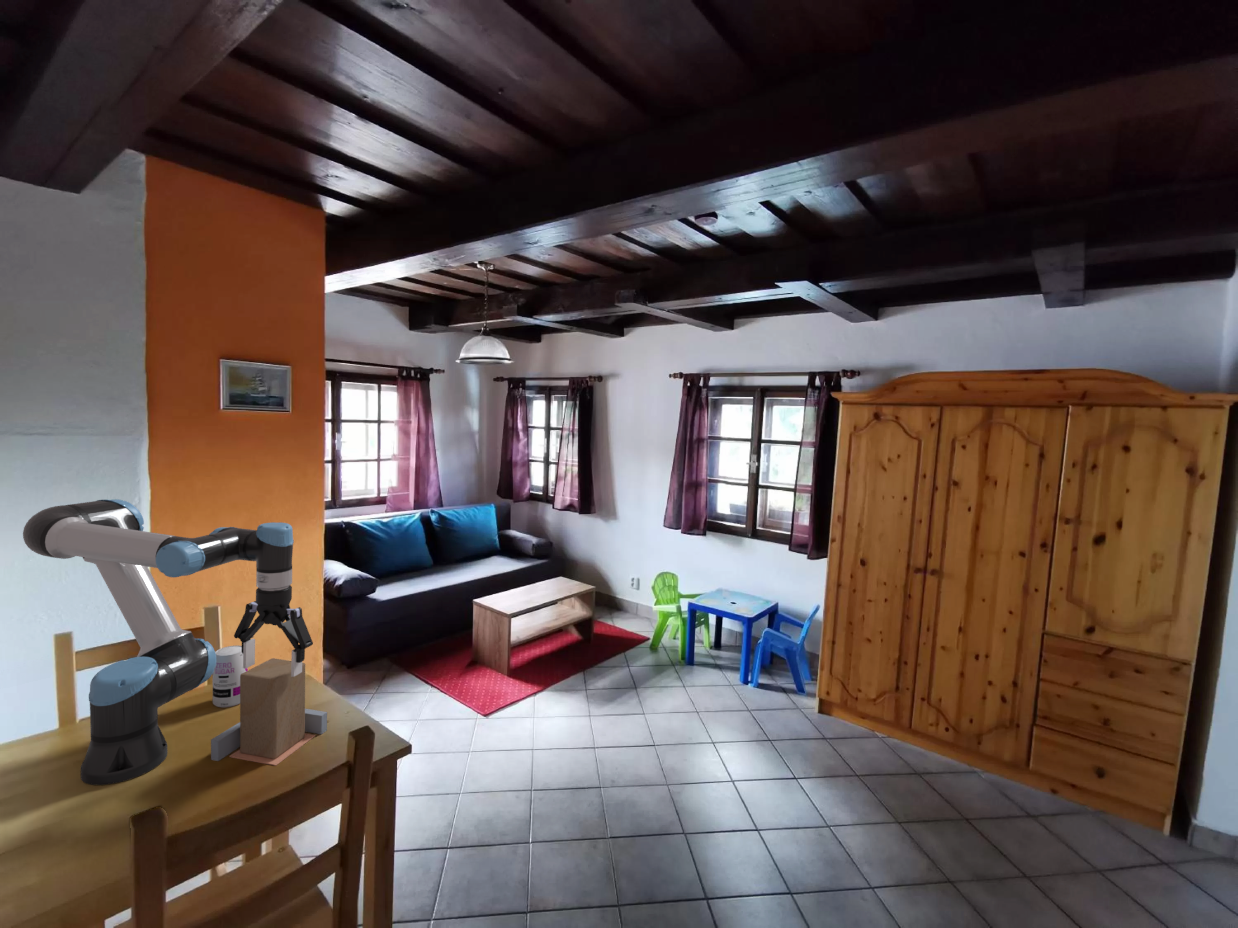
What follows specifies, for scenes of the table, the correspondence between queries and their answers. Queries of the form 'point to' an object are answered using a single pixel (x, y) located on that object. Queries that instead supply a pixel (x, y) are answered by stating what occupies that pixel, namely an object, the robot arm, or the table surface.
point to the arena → (231, 742)
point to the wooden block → (271, 709)
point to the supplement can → (227, 676)
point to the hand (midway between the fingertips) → (272, 670)
